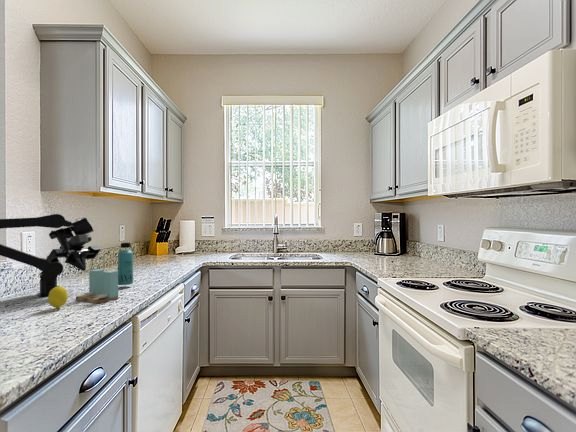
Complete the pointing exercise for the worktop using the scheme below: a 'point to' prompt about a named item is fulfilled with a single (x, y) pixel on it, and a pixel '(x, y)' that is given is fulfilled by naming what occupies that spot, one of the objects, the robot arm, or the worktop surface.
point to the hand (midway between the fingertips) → (84, 269)
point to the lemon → (57, 297)
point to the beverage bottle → (125, 265)
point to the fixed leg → (110, 284)
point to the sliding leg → (96, 282)
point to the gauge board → (95, 298)
